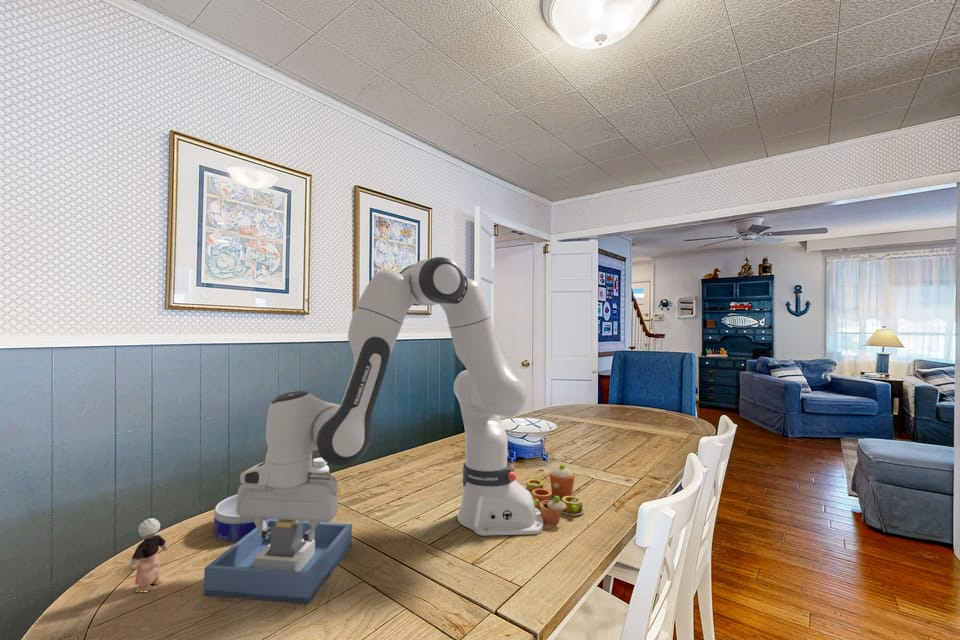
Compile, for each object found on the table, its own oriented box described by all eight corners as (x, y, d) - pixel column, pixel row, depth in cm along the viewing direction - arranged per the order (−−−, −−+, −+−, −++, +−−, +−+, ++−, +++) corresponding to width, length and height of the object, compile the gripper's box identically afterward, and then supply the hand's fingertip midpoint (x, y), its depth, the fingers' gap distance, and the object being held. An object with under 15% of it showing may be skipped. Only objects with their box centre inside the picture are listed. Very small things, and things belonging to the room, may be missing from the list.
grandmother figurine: (149, 575, 83) (152, 510, 83) (170, 575, 84) (172, 510, 84) (120, 601, 76) (122, 529, 76) (142, 600, 76) (145, 529, 76)
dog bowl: (250, 547, 95) (251, 520, 95) (197, 536, 99) (198, 510, 99) (297, 518, 110) (298, 494, 110) (250, 509, 114) (250, 486, 114)
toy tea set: (519, 488, 134) (520, 458, 134) (568, 488, 135) (568, 458, 135) (537, 528, 108) (538, 490, 108) (597, 527, 109) (598, 490, 109)
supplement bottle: (321, 497, 123) (322, 463, 123) (305, 495, 124) (306, 461, 124) (332, 490, 128) (333, 457, 128) (315, 488, 129) (316, 455, 129)
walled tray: (351, 546, 96) (351, 524, 96) (308, 603, 76) (309, 575, 76) (267, 540, 98) (267, 518, 98) (203, 595, 78) (204, 567, 78)
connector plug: (301, 558, 89) (302, 515, 89) (290, 570, 85) (292, 524, 85) (281, 556, 89) (282, 513, 89) (269, 568, 85) (271, 523, 85)
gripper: (343, 468, 90) (342, 534, 89) (251, 464, 91) (249, 528, 91) (331, 479, 83) (329, 550, 83) (232, 474, 85) (230, 543, 85)
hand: (287, 539), depth 87 cm, fingers open, 8 cm apart
